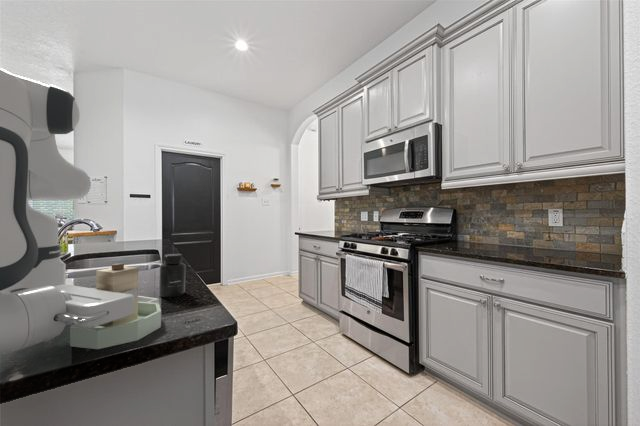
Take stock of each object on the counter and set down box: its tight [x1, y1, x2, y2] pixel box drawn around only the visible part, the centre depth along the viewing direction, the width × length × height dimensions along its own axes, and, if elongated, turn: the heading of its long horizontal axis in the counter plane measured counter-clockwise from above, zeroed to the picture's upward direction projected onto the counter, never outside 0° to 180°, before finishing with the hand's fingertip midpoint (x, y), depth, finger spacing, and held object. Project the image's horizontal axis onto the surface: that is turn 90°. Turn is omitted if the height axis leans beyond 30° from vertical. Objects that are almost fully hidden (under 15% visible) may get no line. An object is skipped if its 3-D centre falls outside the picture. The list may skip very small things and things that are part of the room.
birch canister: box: [95, 262, 139, 327], centre depth 55 cm, size 5×5×12 cm
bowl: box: [69, 302, 162, 350], centre depth 55 cm, size 14×14×4 cm
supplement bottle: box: [158, 253, 186, 299], centre depth 79 cm, size 7×7×12 cm
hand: (124, 291), depth 56 cm, fingers closed on birch canister, 5 cm apart
